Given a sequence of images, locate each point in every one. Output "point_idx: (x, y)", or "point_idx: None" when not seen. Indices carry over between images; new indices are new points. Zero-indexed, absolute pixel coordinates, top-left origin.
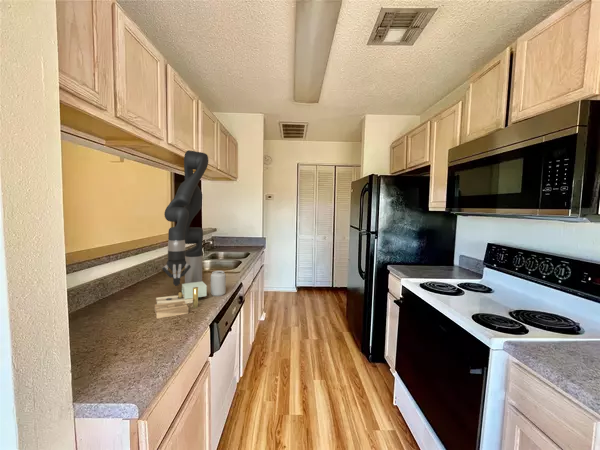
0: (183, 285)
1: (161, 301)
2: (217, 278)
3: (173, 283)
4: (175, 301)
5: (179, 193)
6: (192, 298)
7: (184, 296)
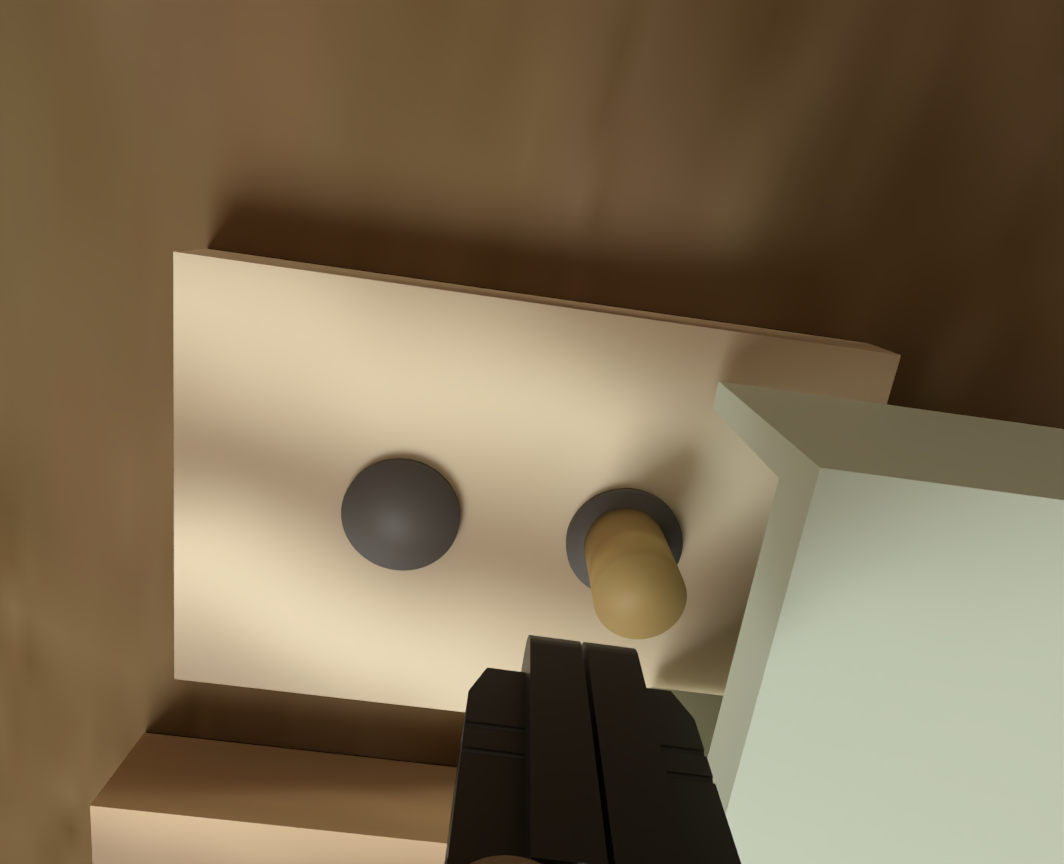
0: (773, 692)
1: (250, 559)
2: None
3: (455, 778)
4: None
5: None
6: None
7: None
